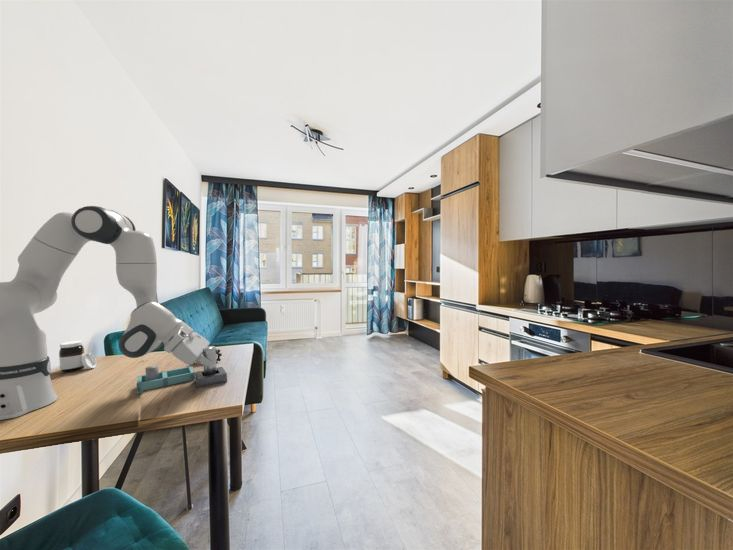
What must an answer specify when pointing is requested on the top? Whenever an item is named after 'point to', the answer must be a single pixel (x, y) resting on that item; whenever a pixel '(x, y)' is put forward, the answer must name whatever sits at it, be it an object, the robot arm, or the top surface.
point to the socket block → (210, 378)
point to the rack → (163, 377)
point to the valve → (216, 357)
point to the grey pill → (211, 354)
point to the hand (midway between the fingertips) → (211, 361)
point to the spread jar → (75, 357)
